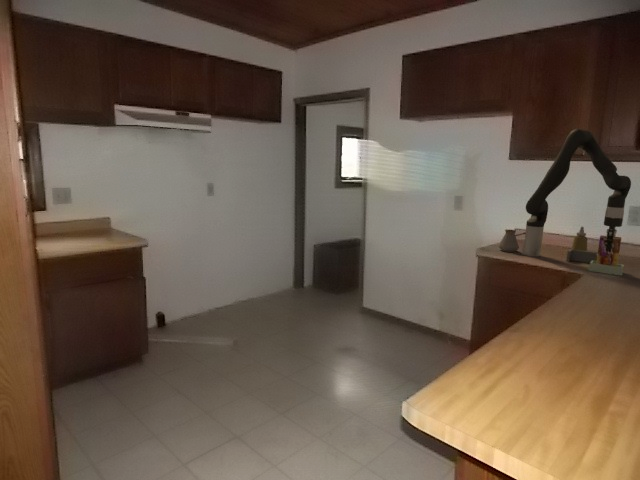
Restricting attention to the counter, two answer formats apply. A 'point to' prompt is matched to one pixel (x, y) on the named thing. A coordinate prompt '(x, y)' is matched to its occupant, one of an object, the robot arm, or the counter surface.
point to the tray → (606, 268)
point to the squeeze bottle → (580, 241)
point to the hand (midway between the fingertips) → (608, 250)
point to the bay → (581, 256)
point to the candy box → (608, 252)
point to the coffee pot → (509, 241)
